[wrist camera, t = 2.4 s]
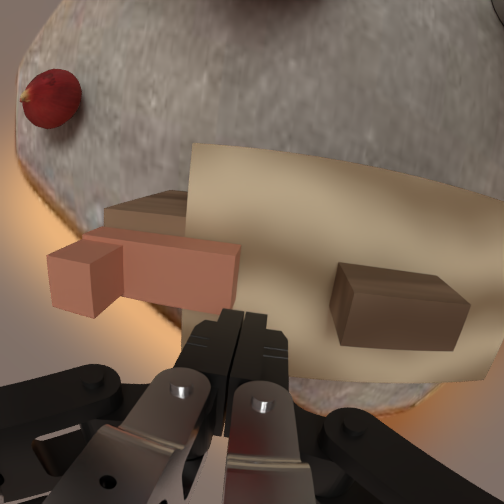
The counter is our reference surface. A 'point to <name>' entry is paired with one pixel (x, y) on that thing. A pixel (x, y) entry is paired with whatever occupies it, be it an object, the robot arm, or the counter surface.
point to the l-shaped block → (143, 271)
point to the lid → (355, 263)
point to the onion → (51, 98)
